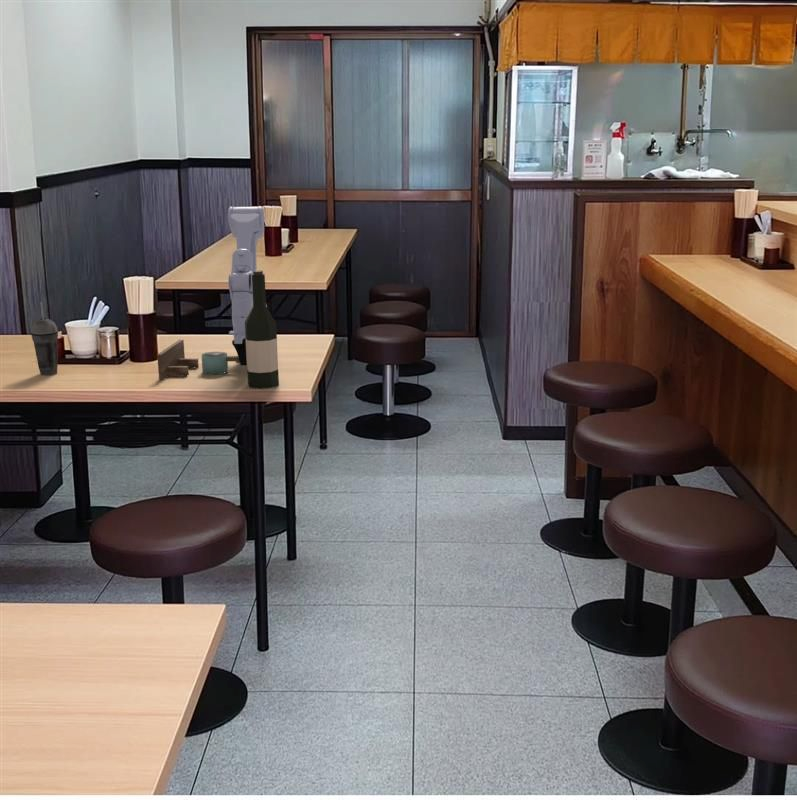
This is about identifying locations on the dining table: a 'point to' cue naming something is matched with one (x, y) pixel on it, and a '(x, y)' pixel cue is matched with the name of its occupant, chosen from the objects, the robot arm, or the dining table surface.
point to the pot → (216, 362)
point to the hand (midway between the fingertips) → (245, 364)
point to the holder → (175, 361)
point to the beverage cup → (45, 344)
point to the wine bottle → (261, 339)
